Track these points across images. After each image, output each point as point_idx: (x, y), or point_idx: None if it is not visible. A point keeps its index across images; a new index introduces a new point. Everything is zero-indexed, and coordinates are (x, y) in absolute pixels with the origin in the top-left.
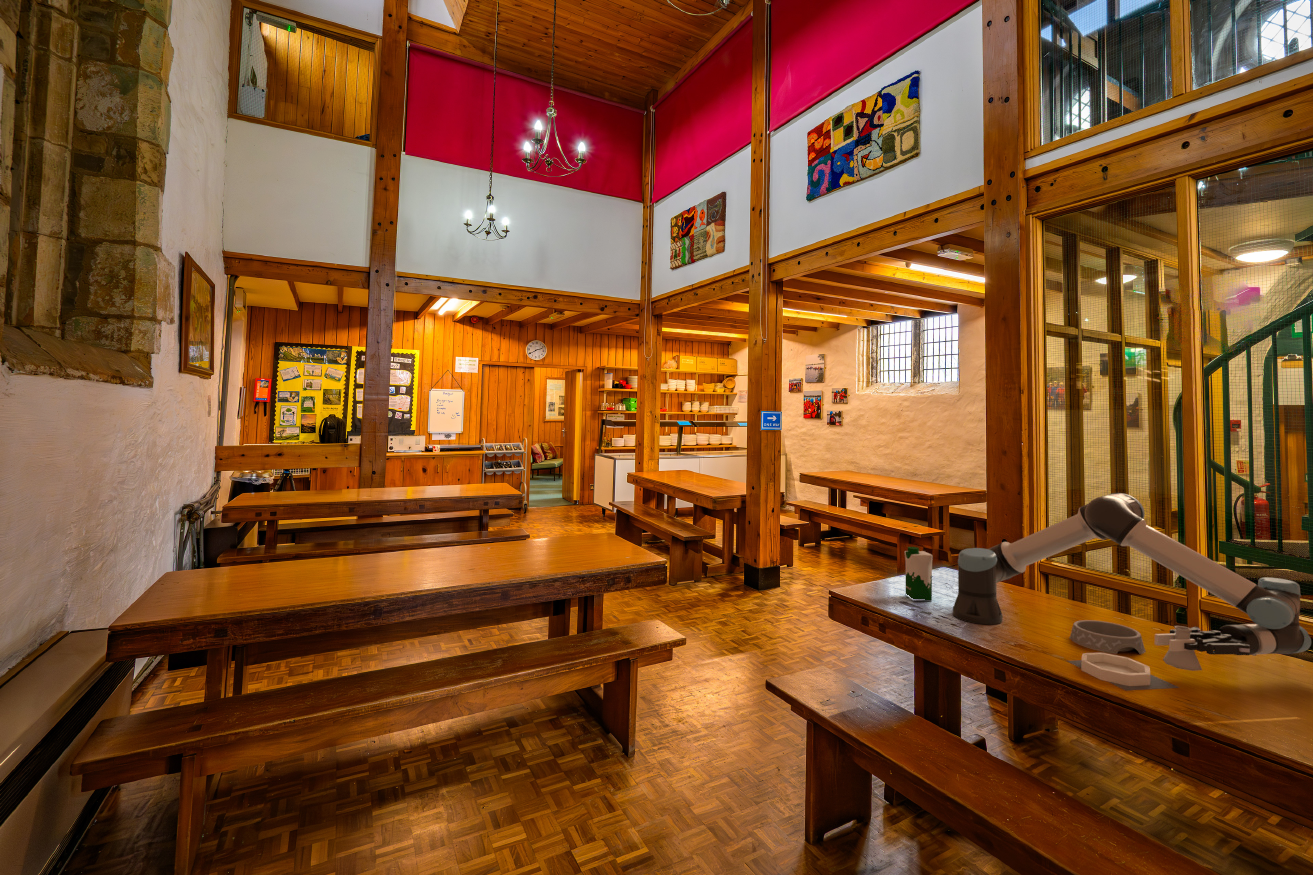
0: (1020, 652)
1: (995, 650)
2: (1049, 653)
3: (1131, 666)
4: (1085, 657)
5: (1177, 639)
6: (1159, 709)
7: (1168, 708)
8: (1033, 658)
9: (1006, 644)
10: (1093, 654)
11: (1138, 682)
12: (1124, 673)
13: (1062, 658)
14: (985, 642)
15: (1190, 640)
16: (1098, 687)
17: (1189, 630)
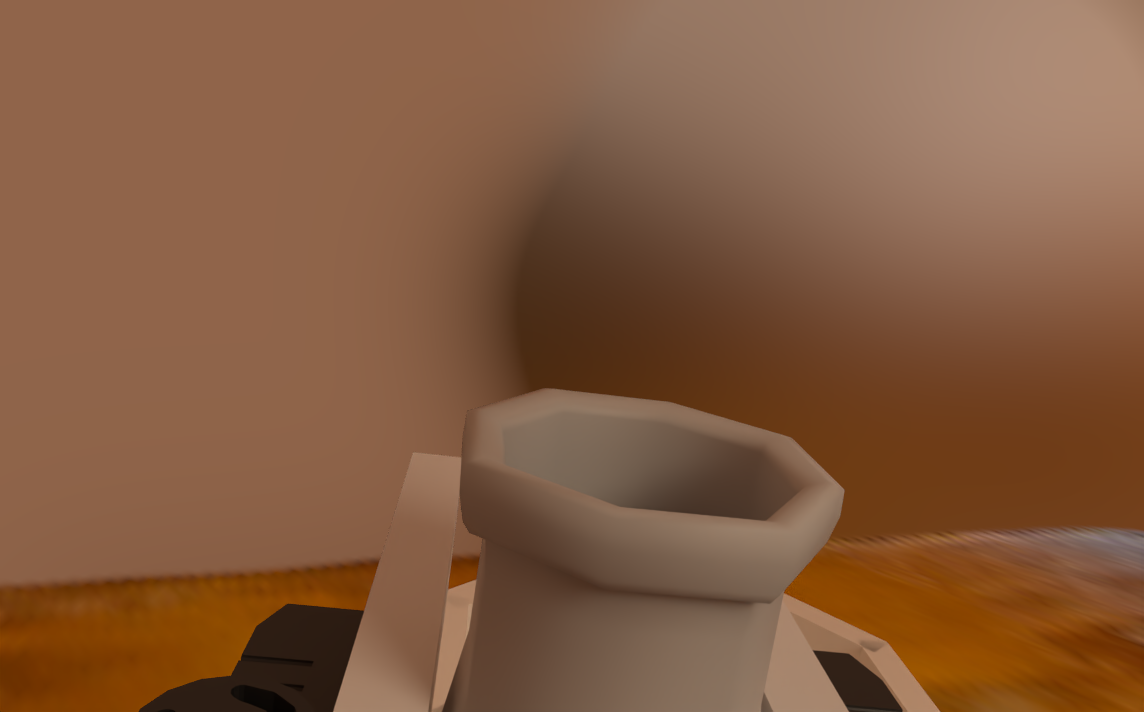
0: (979, 598)
1: (956, 542)
2: (1051, 702)
3: None
4: (787, 607)
5: (454, 526)
6: (99, 598)
7: (68, 642)
8: (890, 593)
9: (1111, 616)
10: (889, 686)
11: None
12: (470, 593)
13: (966, 707)
14: (1082, 567)
15: (352, 654)
16: (464, 575)
17: (465, 452)
